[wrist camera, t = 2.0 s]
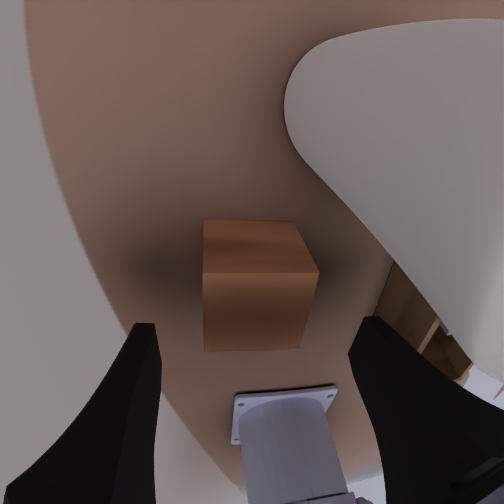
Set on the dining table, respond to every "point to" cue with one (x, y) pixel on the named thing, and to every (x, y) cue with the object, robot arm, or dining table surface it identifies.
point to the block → (255, 285)
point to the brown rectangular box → (420, 325)
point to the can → (418, 158)
